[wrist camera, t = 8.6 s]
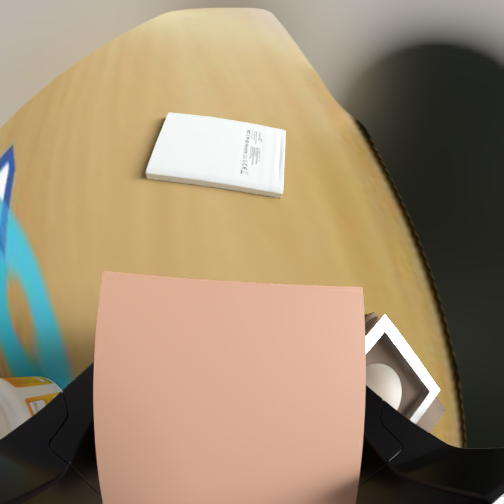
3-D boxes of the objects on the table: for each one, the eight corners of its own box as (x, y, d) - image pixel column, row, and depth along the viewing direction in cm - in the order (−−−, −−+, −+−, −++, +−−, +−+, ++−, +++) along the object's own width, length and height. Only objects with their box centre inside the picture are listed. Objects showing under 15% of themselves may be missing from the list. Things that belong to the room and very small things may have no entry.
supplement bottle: (14, 401, 16) (-58, 408, 7) (41, 362, 18) (-34, 357, 9) (54, 447, 15) (-9, 480, 6) (84, 411, 17) (19, 437, 8)
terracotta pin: (255, 414, 14) (354, 511, 3) (169, 411, 13) (105, 515, 3) (256, 333, 15) (362, 287, 5) (171, 328, 15) (103, 270, 4)
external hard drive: (169, 121, 28) (282, 138, 30) (147, 182, 25) (279, 201, 27) (168, 110, 27) (286, 128, 28) (144, 172, 24) (283, 192, 25)
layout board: (278, 560, 14) (284, 572, 12) (169, 481, 16) (166, 492, 14) (439, 409, 21) (453, 410, 19) (368, 314, 24) (381, 309, 22)
